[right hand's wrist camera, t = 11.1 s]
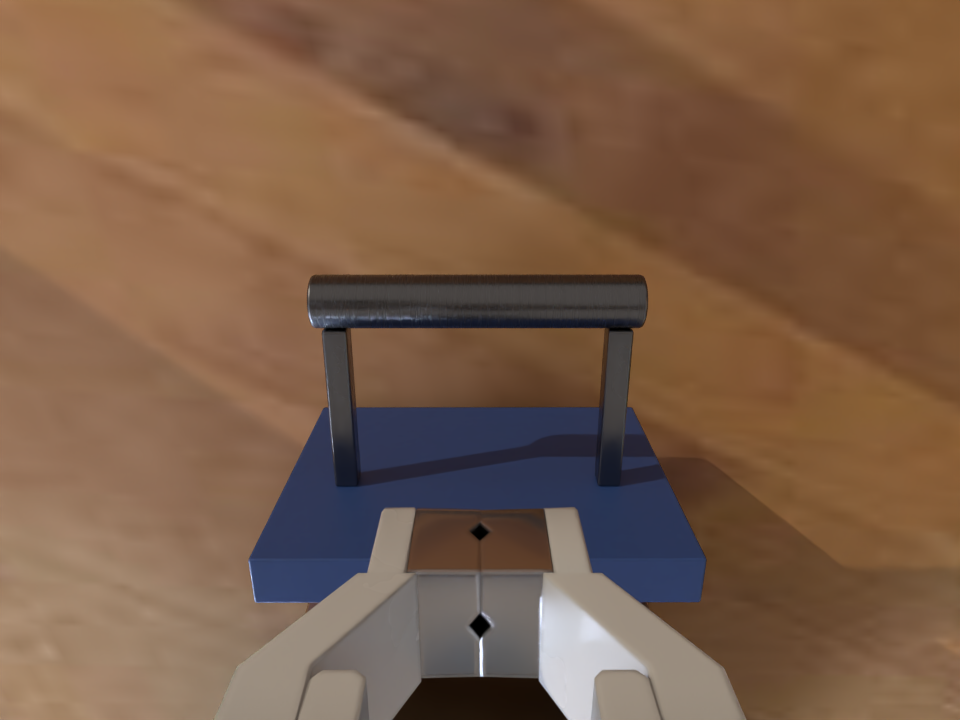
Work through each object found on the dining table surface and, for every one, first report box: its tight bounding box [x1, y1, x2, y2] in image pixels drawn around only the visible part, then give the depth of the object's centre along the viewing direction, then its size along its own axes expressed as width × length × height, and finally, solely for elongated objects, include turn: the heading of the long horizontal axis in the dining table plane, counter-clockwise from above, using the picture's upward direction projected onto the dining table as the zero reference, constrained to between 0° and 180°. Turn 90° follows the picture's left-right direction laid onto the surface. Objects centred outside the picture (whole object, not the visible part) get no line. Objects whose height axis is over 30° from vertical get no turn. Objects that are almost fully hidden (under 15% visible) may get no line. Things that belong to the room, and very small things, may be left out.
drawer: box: [249, 275, 706, 720], centre depth 21 cm, size 24×10×8 cm, turn 0°
